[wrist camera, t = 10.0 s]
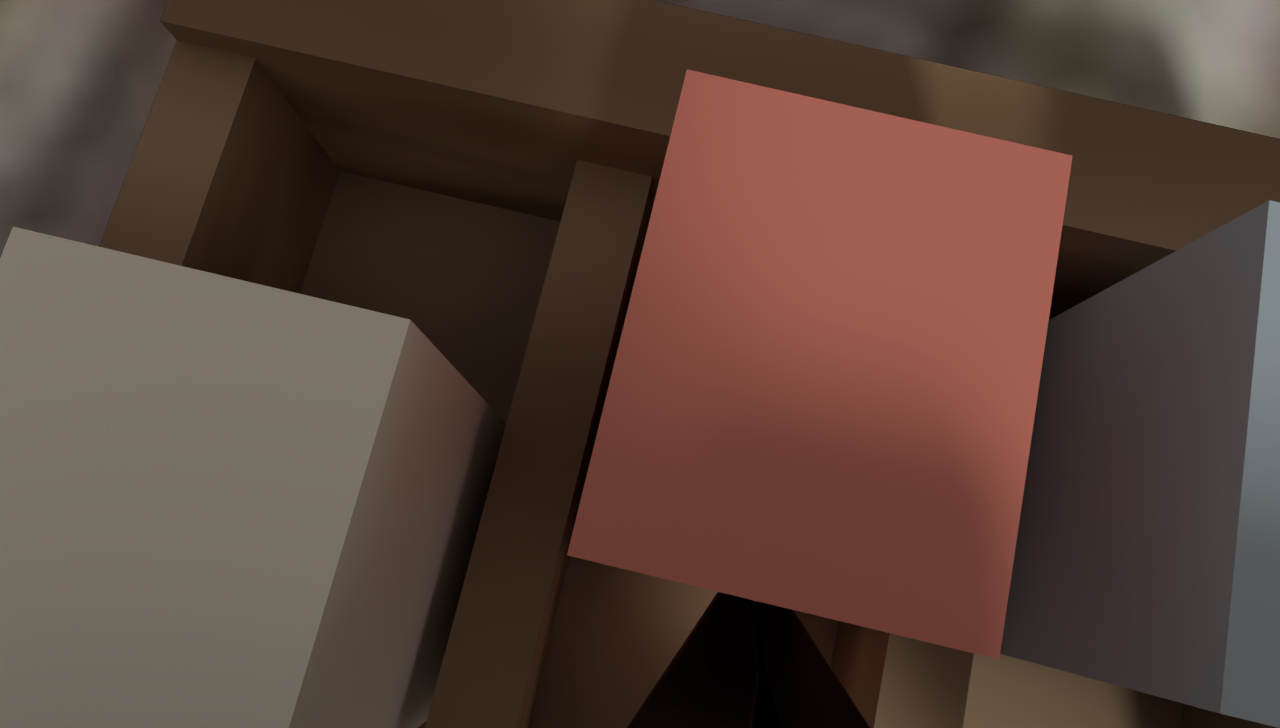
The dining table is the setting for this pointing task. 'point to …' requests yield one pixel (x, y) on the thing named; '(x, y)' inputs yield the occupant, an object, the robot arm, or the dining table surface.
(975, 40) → the dining table surface
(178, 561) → the white key
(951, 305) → the red key
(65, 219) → the dining table surface
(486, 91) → the key console
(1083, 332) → the grey rectangular block
